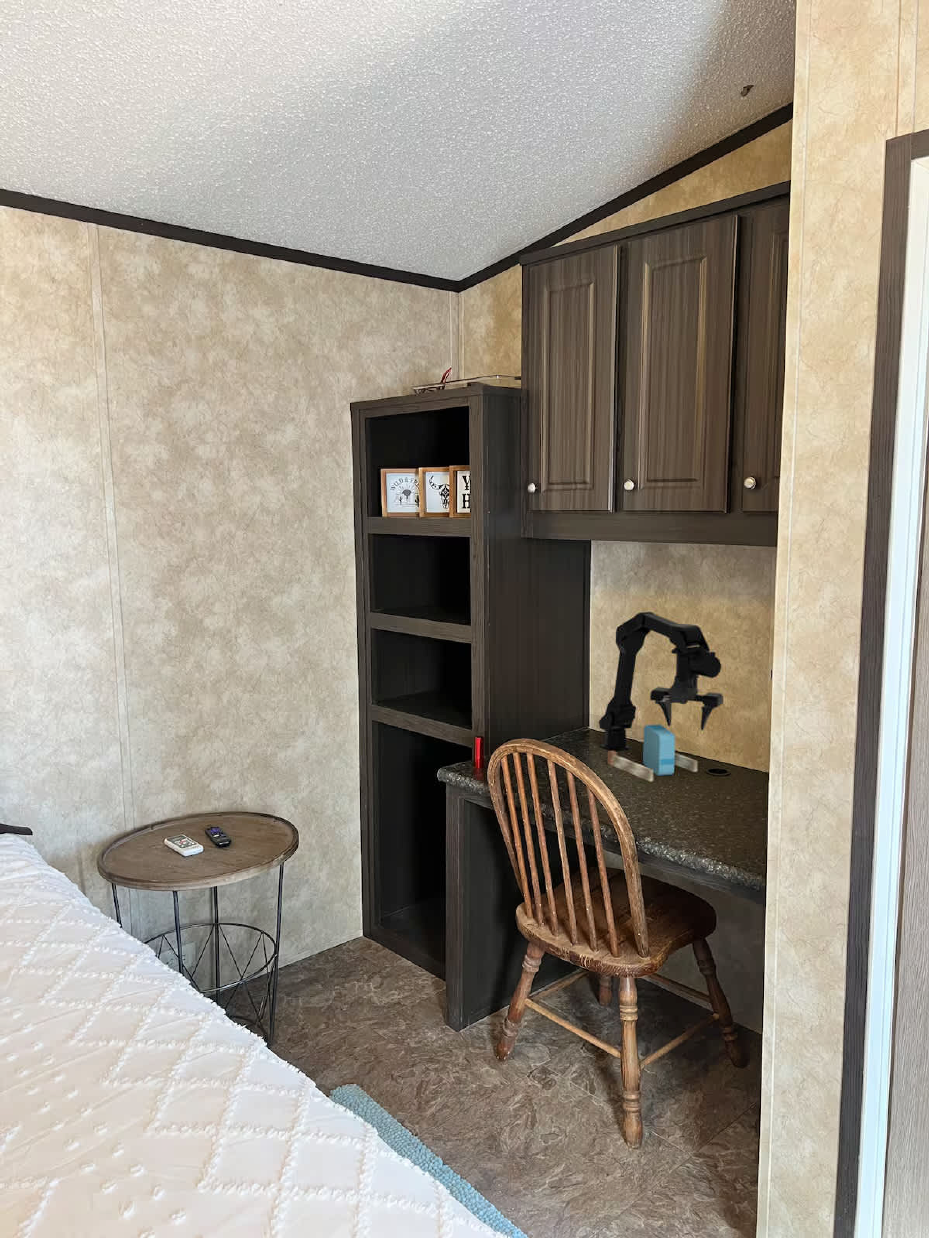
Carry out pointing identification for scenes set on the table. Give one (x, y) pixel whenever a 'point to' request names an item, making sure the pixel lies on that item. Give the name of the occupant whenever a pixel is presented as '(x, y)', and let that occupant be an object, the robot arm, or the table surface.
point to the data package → (659, 749)
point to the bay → (644, 771)
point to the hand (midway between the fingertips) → (685, 727)
